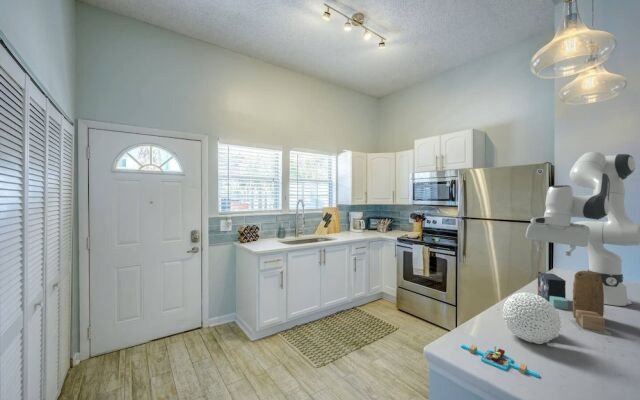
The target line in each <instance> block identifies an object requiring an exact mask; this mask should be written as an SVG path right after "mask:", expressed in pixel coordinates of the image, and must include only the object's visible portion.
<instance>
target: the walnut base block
mask: <svg viewBox="0 0 640 400" xmlns="http://www.w3.org/2000/svg"><path fill="white" fill-rule="evenodd" d="M605 319H606V318H605V317H604V316H603V317H602V316H601V315H599V314H598V313H596V312H591V311H584V310H576V318H575V321H576V323H577V324H578V325H579V326H580V327H581V328H583V329H588V330H594V331H600V332H605V329H606V327H605V324H606V323H605V321H606V320H605Z"/></svg>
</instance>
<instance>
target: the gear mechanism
mask: <svg viewBox="0 0 640 400" xmlns="http://www.w3.org/2000/svg"><path fill="white" fill-rule="evenodd" d="M460 347H461V349H464V350H467V351H468V352H469V353H471V354H473V355H474V354H477V355H479V356H481V357H480V361H481V362H483V363H484V364H488V365H489V366H493V367H495V368H497V369H499V370H502V371H508V369H509V368H512V369H516V370H517V371H518V373H521V374H524V375H525V374H528V375H530V376H532V377H535V378H538V379H539V377H540V373H537V372H534V371H532V370H529V369H528V365H527V364H524V363H520V365H518V364H517V365H516V364H515V363H513V362H514V360H513V358H512V357H510V356H507V355H506V354H505V350H504V349H501V348H498V349H497V346H496V345H494V349H493V350H491V349H488V350H486V352H483V351H481V350H478V346H476V345H474V344H472V345H471V346H467V345H465V344H461V346H460Z"/></svg>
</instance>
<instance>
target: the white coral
mask: <svg viewBox="0 0 640 400" xmlns="http://www.w3.org/2000/svg"><path fill="white" fill-rule="evenodd" d="M502 319H503V322H504V325H505V326H506V327H507V330H509V331H510V332H511V333H513V335H515V336H517V337H518V338H519V339H521V340H523V341H526V342H529V343H534V344H537V345H540V344H541V345H542V344H544V343H549V342H550V341H553V339H556V338H558V337H559V336H560V332H561V328H562V325H561V324H562V320H561V317H560V314H559V312H558V310H557V308H555V307H554V306H552V304H551V303H550V302H548V301H547V300H546V299H545V298H543V297H541V296H539V295H538V294H536V293H532V292H525V291H523V292H518V293H514V294H512V295H511V296H509V297H508V298H507V299H506V300H505V302H504V305H503V308H502Z"/></svg>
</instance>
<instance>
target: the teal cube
mask: <svg viewBox="0 0 640 400" xmlns="http://www.w3.org/2000/svg"><path fill="white" fill-rule="evenodd" d="M550 303H551V304H552V306H554V307H555V309H559V310H560V309H561V310H565V311H568V310H569V301H568V300H567V299H565V298H562V297H554V296H550Z"/></svg>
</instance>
